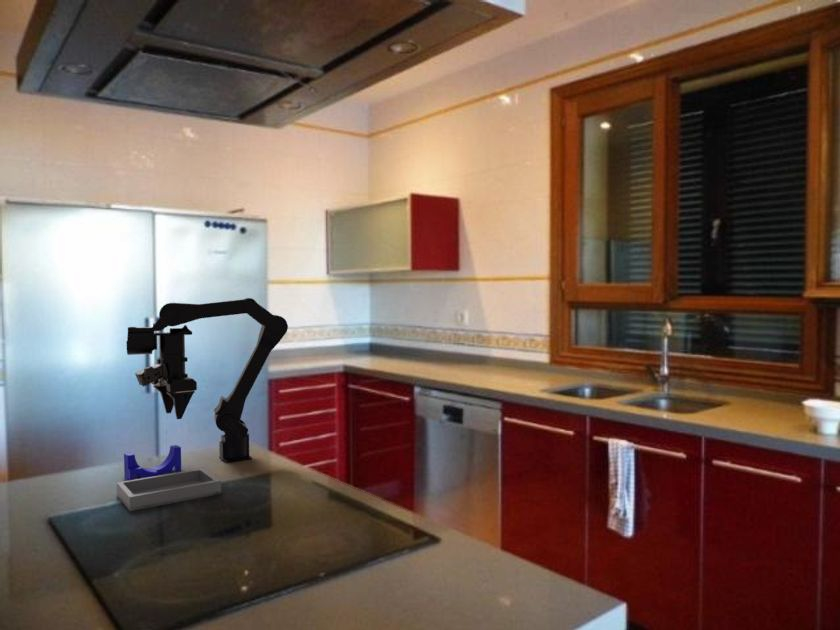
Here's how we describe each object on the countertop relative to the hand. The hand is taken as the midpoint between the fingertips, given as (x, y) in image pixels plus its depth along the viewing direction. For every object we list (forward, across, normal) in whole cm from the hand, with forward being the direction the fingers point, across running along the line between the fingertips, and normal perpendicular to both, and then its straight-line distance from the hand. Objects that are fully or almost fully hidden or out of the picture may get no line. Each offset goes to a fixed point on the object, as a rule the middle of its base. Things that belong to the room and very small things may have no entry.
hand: (173, 416), depth 161 cm
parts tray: (+12, +25, -8) cm, 29 cm away
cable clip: (+12, +7, -6) cm, 16 cm away
